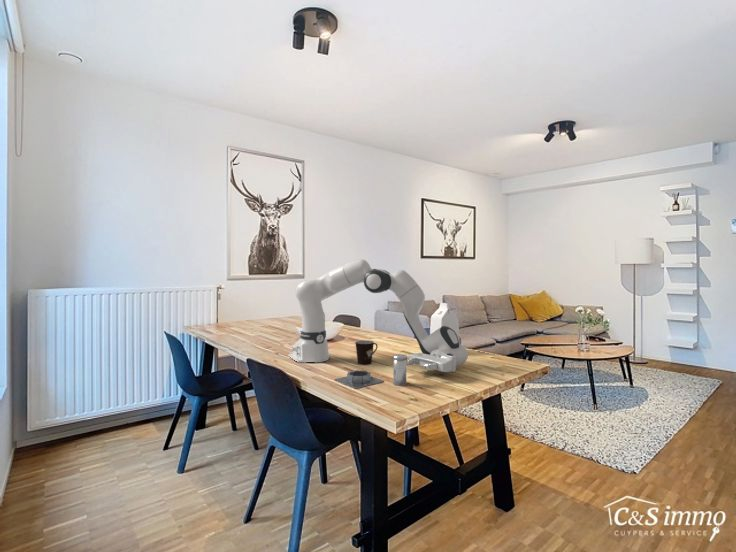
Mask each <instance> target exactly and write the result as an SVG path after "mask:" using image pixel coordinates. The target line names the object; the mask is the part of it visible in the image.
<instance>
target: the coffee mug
mask: <svg viewBox="0 0 736 552" xmlns="http://www.w3.org/2000/svg"><path fill="white" fill-rule="evenodd" d="M354 343H355V350H356V351H355V352H356V358H357V359H356V360H357V365H359V366H360V365H361V366H369V365H372V362H373V355H374V354H375V353H376V351H377V350H378V348H379V346H378V344H377V342H375V341H374V340H373V341H372V340H366V339H365V340H364V339H363V340H357V341H355V342H354ZM374 345H375V346H376V347H375V349H374Z"/></svg>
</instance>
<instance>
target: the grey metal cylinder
mask: <svg viewBox="0 0 736 552" xmlns="http://www.w3.org/2000/svg"><path fill="white" fill-rule="evenodd" d="M392 360H393V361H392V362H393V370H392V371H393V373H392V374H393V377H392V378H393V380H392V381H393V382H392V383H393V385H394V386H396V387H397V386H398V387H404V386H407V360H408V356H407V355H406V354H401V353H399V354H398V353H397V354H394V355H392Z"/></svg>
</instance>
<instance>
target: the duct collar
mask: <svg viewBox="0 0 736 552" xmlns="http://www.w3.org/2000/svg"><path fill="white" fill-rule="evenodd" d="M371 373H372V372H370V371H368V370H359V369H358V370H352V371H347V374H346V376H343V377H342V376H341V377H338V378H334V379H333V380H335V382H337V381H338V382H337V383H339V382H340V384H342V383H343V384H342V385H345V386H347V385H348V386H347V387H349V388H352V387H353V389H355V390H356V389H361V388H365V387H370V386H372V385H376V384H377V385H378V384H380V383H384V382H385V381H384V380H383V379H381V378H378V377H374V376H371Z"/></svg>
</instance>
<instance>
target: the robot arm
mask: <svg viewBox="0 0 736 552" xmlns="http://www.w3.org/2000/svg"><path fill="white" fill-rule="evenodd" d="M361 283H363V286H364V288H365V289H366V290H367V292H370V293H372V294H381V293H384V292H388V290H390V291H391V292H392V293H393V294H394V295H395V296H396V297H397V299H398V300H399V301H400V303H401V305H402V309H403V313H402V314H403V316H404V319H405V321H406V323H407V324H408V326H409V329H410V330H411V332H412V334H413V336H414V337H415V339H416V341H417V343H418V346H419V349H420V352H418V353H417V352H416V353H415V352H414V353H410V354H409V355H408V359H407V365H410V366H412V365H416V366H419V367H423V368H424V369H425V370H435V371H438V372H442V373H450V372H452V373H453V372H456V371H457V367H459V366H462V365H463V364H465V363H466V362H467V361H468V360H467V359H468V356H469V353H468V349H467V348H466V347H465V346H463V345H462V344H461V343H459V340H460V339H459V340H458V337H457V335H456V333H455V331H454V330H452V329H451V328H449V327H447V326H442V327H441V328H439V329H437V330H436V331H434V332H433V333H432V334H430V333H429V334H428V333H427V330H426V329H425V327H424V325H423V324H422V322H421V320H420V312H421V310H422V308H423V306H424V304H425V300H426V299H425V297H426V296H425V295H426V294H425V293H424V290H423V289H422V288H421V286H420V285H419V284H418V282H417V281H416V280H415V279H414V278H413V276H411V275H410V274H409V273H408V272H407V271H406V270H403V269H399V270H395V271H394V272H393V273H390V272H389V271H387V270H385V269H380V268H372V267H371V265H370V264H369V262H368V261H367V260H365V259H363V258H362V259H357V260H352V261H349V262H347V263H344V264H342V265H340V266H337V267H336V268H334V269H331V270H328V272H326V273H324V274H322V275H321V276H319V277H317V278H314V279H307V280H304V281H302V282H301V283H299V284H298V285H297V286H296V288H295V297H296V298H297V300H298V302H299V307H300V311H301V330H300V331H299V332H300V333H299V335H300V336H299V339H298V340H297V341H296V342H295V343H294V344H293V346H292V353H289V354H288V355H287V357H288V356H290V357H291V358H293V359H294V360H295V361H297V362H296V363H306V362H315V363H322V362H325V361H328V360H329V359H330V358H331V354H329V346H328V345H329V343H328V342H329V341H328V340H327V339H326V338H327V331H326V313H325V312H324V309H323V305H322V301H324V300H326V299H328V298H330V297H332V296H334V295H336V294H338V293H340V292H342V291H345V290H347V289H350V288H351V287H354V286H356V285H359V284H361ZM290 357H289V358H290ZM291 358H290V359H291ZM294 360H293V361H294ZM295 361H294V362H295Z"/></svg>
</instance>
